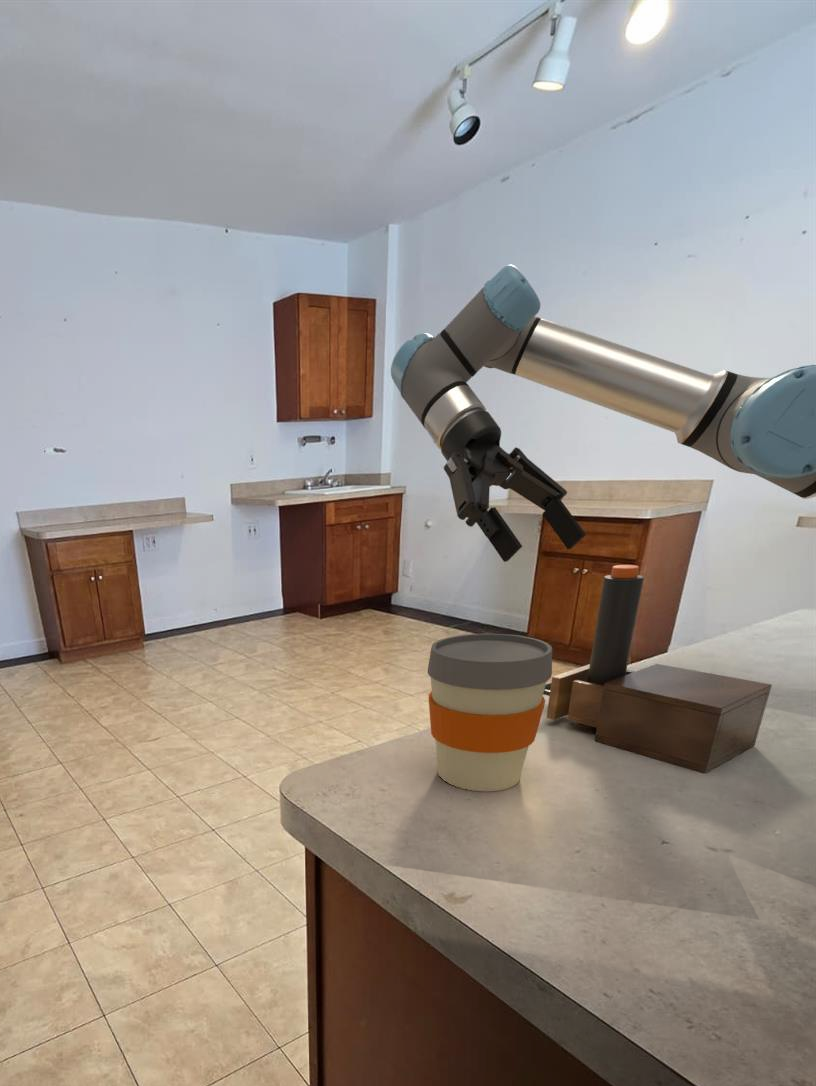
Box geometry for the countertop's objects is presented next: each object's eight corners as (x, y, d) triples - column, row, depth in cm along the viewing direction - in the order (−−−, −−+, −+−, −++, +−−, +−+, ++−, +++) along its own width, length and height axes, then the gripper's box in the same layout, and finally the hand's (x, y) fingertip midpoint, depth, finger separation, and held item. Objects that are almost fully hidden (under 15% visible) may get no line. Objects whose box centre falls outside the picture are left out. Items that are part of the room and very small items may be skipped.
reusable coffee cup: (415, 792, 71) (421, 660, 65) (428, 748, 81) (435, 632, 75) (538, 805, 66) (558, 665, 60) (536, 757, 77) (552, 634, 70)
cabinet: (594, 740, 80) (604, 682, 77) (644, 718, 85) (656, 663, 82) (705, 773, 70) (722, 708, 67) (754, 746, 75) (772, 684, 72)
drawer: (520, 711, 88) (525, 670, 86) (565, 694, 93) (571, 655, 91) (633, 742, 76) (642, 696, 74) (678, 721, 81) (688, 678, 79)
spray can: (617, 703, 85) (643, 563, 78) (625, 716, 81) (653, 568, 74) (577, 702, 87) (599, 564, 79) (583, 714, 83) (607, 570, 75)
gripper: (502, 449, 99) (580, 556, 93) (384, 458, 87) (464, 580, 82) (537, 406, 92) (623, 517, 87) (414, 409, 81) (504, 537, 75)
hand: (546, 548), depth 84 cm, fingers open, 13 cm apart
